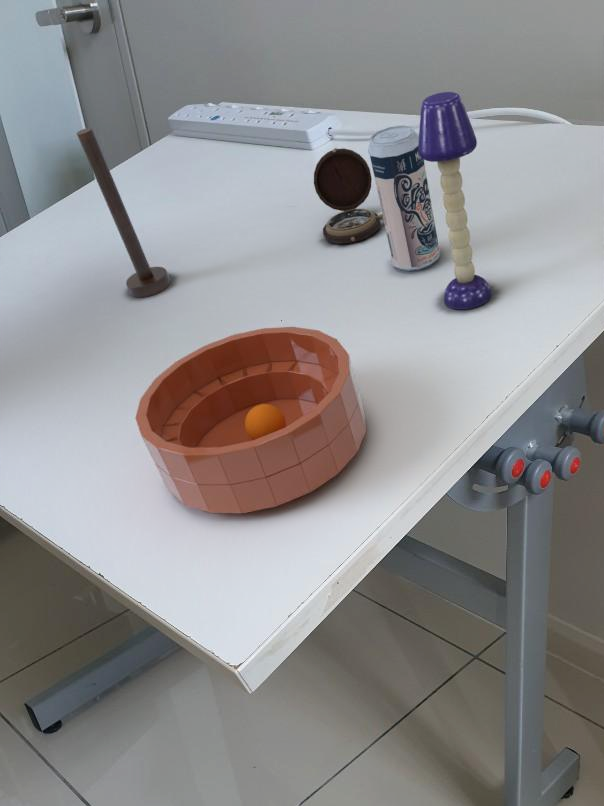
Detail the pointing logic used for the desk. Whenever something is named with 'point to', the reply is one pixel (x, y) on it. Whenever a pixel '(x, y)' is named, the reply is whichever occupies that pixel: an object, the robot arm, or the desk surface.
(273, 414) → the ball
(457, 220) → the toy lamp
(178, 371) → the bowl
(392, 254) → the beer can
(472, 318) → the desk surface
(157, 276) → the stick
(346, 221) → the compass
